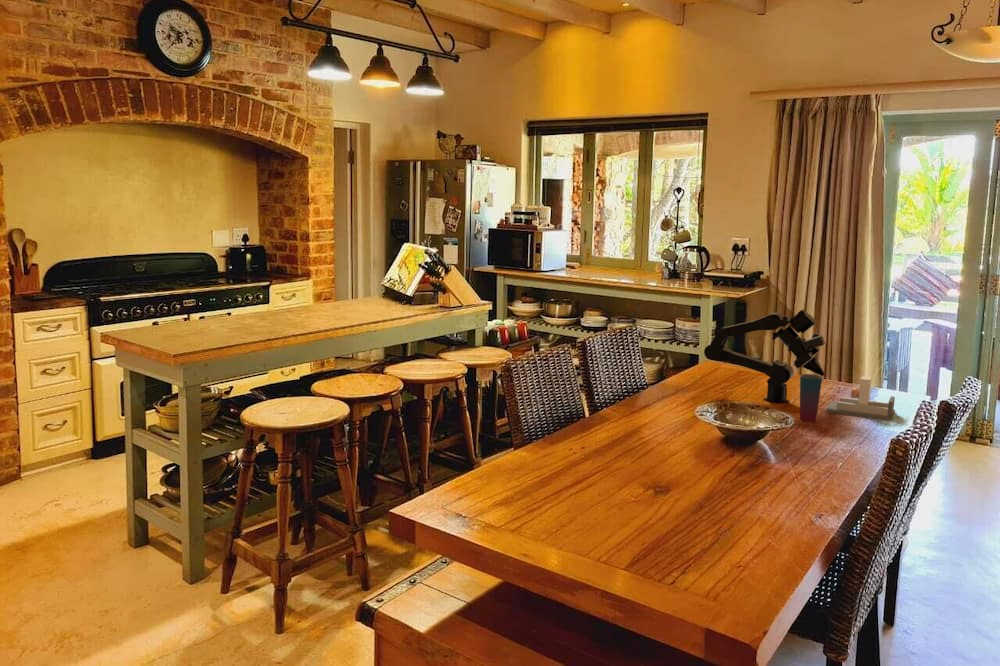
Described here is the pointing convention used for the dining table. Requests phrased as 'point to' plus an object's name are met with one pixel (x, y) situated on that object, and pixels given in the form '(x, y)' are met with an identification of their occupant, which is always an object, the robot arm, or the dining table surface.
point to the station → (863, 408)
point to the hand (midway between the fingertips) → (823, 375)
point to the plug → (862, 391)
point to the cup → (809, 396)
